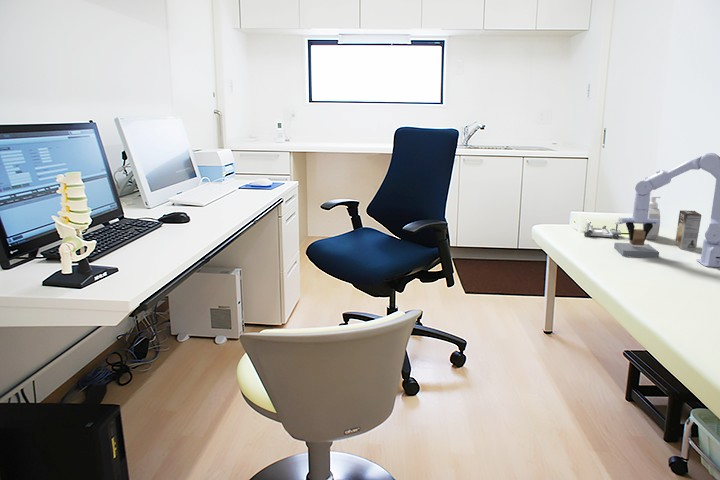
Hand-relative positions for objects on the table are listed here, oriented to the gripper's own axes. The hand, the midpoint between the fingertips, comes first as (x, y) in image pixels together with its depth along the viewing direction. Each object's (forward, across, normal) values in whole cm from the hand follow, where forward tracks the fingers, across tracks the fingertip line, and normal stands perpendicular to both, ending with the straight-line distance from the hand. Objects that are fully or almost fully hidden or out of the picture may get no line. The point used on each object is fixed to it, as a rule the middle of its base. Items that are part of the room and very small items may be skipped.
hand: (637, 240), depth 241 cm
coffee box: (+6, -25, -15) cm, 30 cm away
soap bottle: (+6, -15, -33) cm, 37 cm away
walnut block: (+2, 0, 0) cm, 2 cm away
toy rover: (+6, +6, -32) cm, 33 cm away
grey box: (+6, 0, 0) cm, 6 cm away
